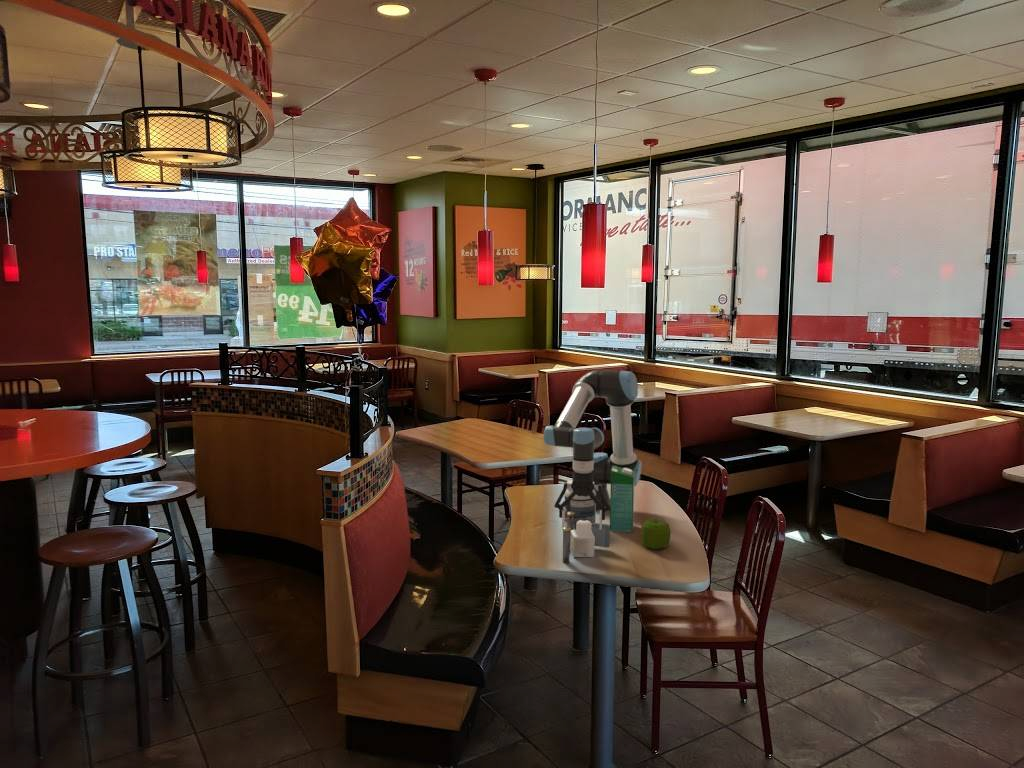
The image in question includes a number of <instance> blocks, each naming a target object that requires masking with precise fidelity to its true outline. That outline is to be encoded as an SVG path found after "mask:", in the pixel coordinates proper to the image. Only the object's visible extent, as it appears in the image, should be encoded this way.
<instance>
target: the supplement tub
mask: <svg viewBox="0 0 1024 768" xmlns="http://www.w3.org/2000/svg"><path fill="white" fill-rule="evenodd" d="M566 482H567V483H569V484H572V479H568V480H567V481H566ZM593 484H594V482H593ZM572 492H573V489H572V488H571V487H569V489H566V492H565V494H564V500H565V499H566V498H567V497H568V496H569V495H570V494H571V493H572ZM592 492H593V493H594V495H595V496H596V491H595V489H593V491H592ZM564 508H565V526H567V512H574V521H575V520H576V519H578V518H587V519H590V520H591V521H592V523H596V519H597V516H596V514H597V513H596V510H597V509H596V503H595V502H594V501H593V500H592V498H590V497H589V495H588V496H587V497H584V496H577V495H575V496H574V497H573V498H572V499H571V500H570V501H569V502H568V503H567V504H566V506H565V507H564ZM573 530H574V528H573Z"/></svg>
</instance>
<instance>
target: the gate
mask: <svg viewBox="0 0 1024 768" xmlns="http://www.w3.org/2000/svg"><path fill="white" fill-rule="evenodd" d="M592 533H593V535H594V537H595V546H594V547H602V548H607V549H608V548H610V544H611V543H610V539H611V538H610V536H611V533H610V524H608V523H607V524H605V523H602V529H601V530H599V523H598V522H597V523H592Z"/></svg>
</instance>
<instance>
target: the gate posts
mask: <svg viewBox="0 0 1024 768" xmlns="http://www.w3.org/2000/svg"><path fill="white" fill-rule="evenodd" d="M561 528H562V563H563V564H570V552H571V550H570V537H571V530H574V529H573V528H574V512H567V526H566V525H565V526H564V527H562V526H561Z"/></svg>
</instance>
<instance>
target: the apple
mask: <svg viewBox="0 0 1024 768" xmlns="http://www.w3.org/2000/svg"><path fill="white" fill-rule="evenodd" d="M640 532H641V533H640V535H641V544H642V545H643V546H645V547H646V548H647V549H650V550H661V549H663V548H666V547H668V546H669V545H670V543H671V542H670V541H671V533H672V531H671V526H670V523H668V522H667V521H666V520H664V519H659V518H651V519H646V520H644V521H643V523H641V531H640Z"/></svg>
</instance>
